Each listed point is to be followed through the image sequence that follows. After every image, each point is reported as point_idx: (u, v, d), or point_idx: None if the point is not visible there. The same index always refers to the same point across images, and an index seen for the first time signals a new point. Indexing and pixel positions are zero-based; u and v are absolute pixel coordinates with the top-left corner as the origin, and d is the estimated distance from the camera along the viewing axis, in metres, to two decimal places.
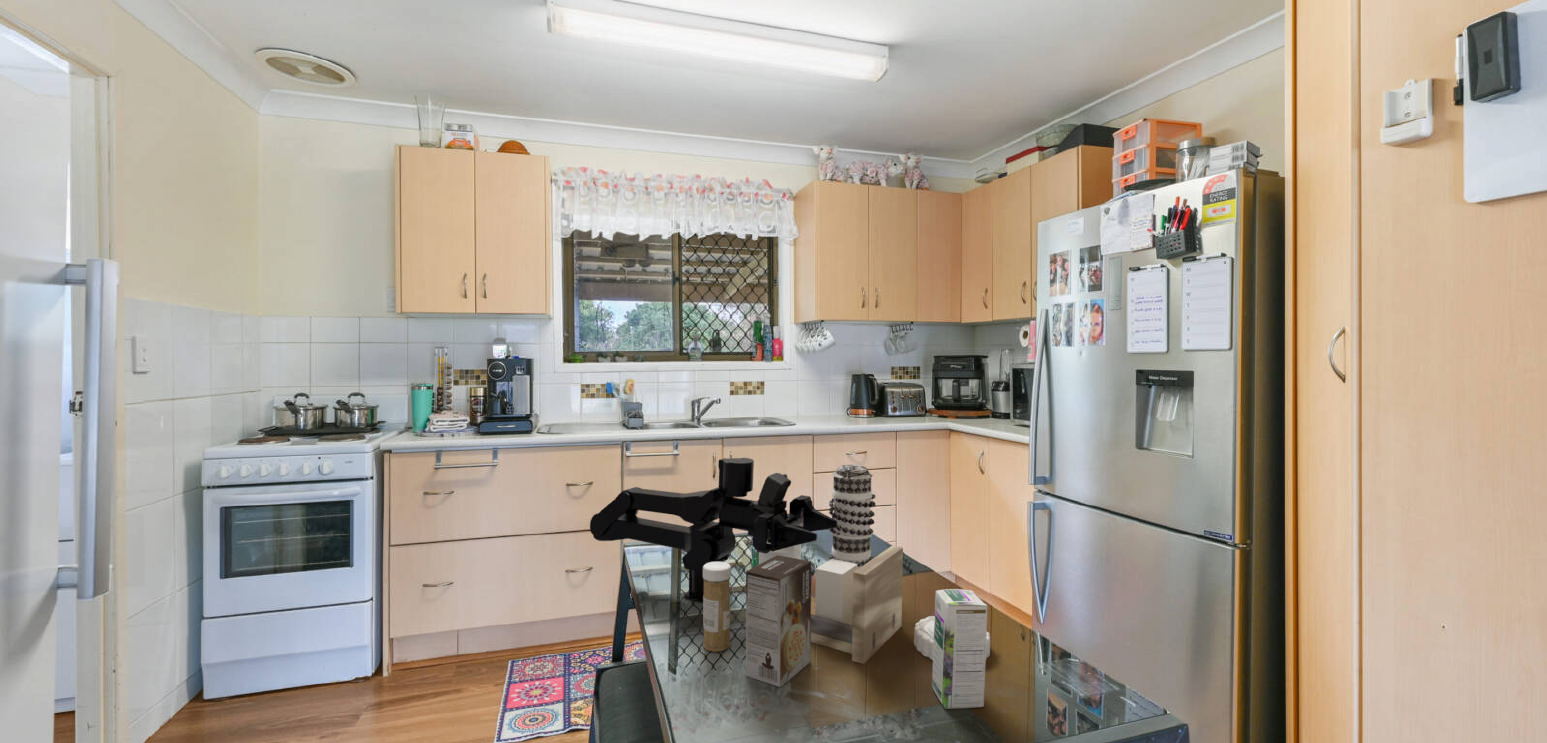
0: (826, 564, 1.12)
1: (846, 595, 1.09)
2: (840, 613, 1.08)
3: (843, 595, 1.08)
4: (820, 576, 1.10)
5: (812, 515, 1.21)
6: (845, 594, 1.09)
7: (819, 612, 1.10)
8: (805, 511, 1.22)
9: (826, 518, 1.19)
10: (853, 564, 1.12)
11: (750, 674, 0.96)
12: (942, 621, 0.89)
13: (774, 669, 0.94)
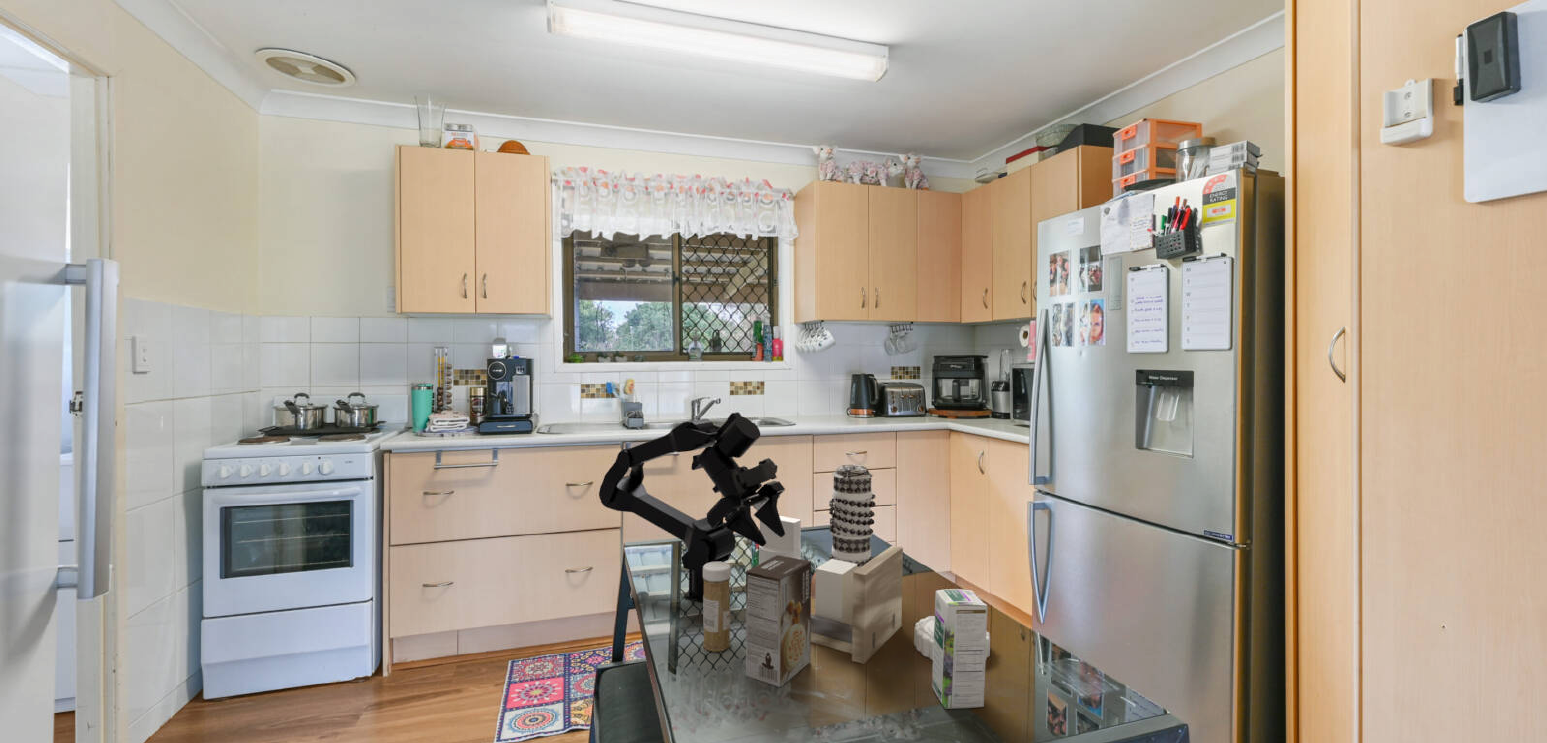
0: (826, 564, 1.12)
1: (846, 595, 1.09)
2: (840, 613, 1.08)
3: (843, 595, 1.08)
4: (820, 576, 1.10)
5: (770, 512, 1.22)
6: (845, 594, 1.09)
7: (819, 612, 1.10)
8: (767, 503, 1.23)
9: (779, 525, 1.21)
10: (853, 564, 1.12)
11: (750, 674, 0.96)
12: (942, 621, 0.89)
13: (774, 669, 0.94)
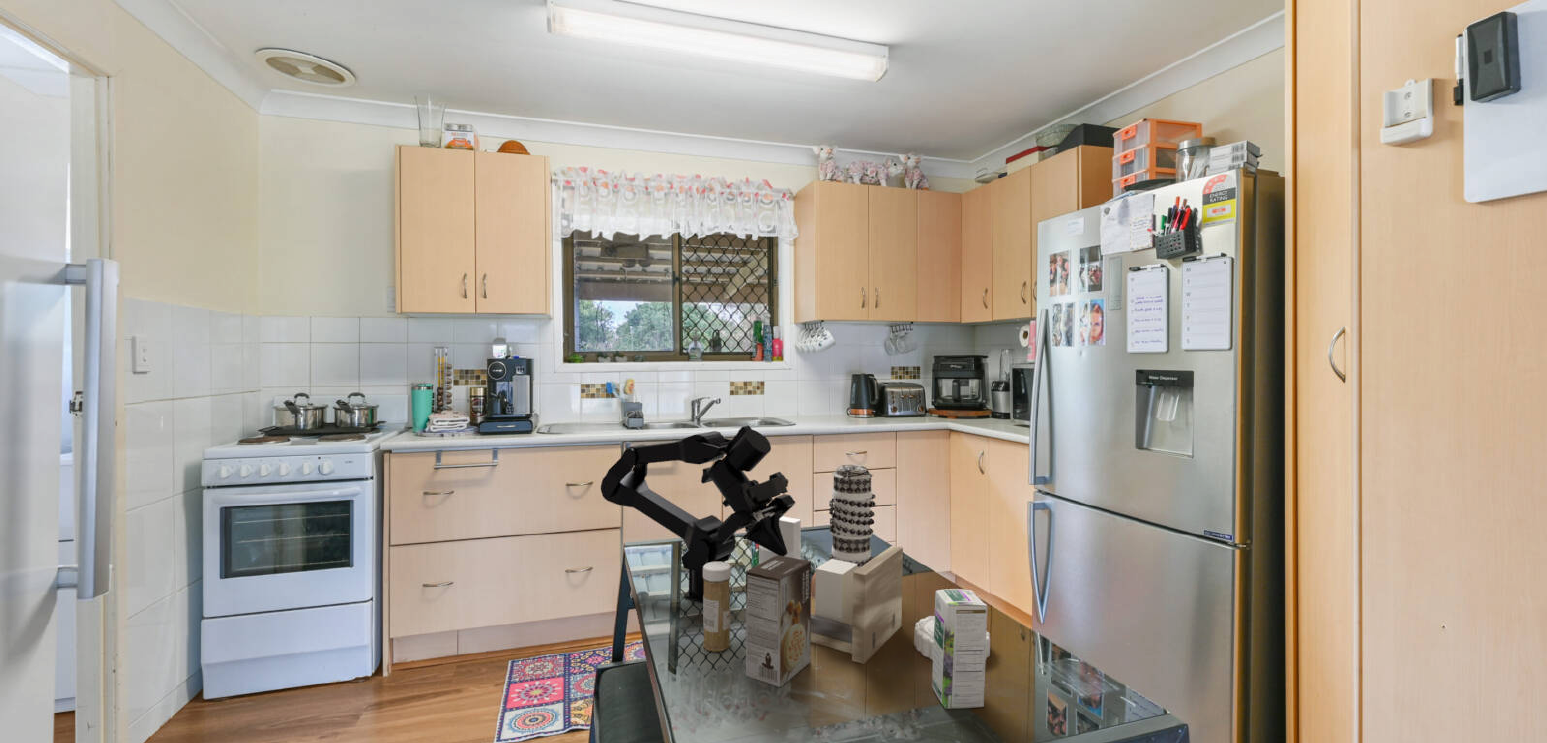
0: (826, 564, 1.12)
1: (846, 595, 1.09)
2: (840, 613, 1.08)
3: (843, 595, 1.08)
4: (820, 576, 1.10)
5: (772, 530, 1.19)
6: (845, 594, 1.09)
7: (819, 612, 1.10)
8: None
9: (781, 543, 1.17)
10: (853, 564, 1.12)
11: (750, 674, 0.96)
12: (942, 621, 0.89)
13: (774, 669, 0.94)
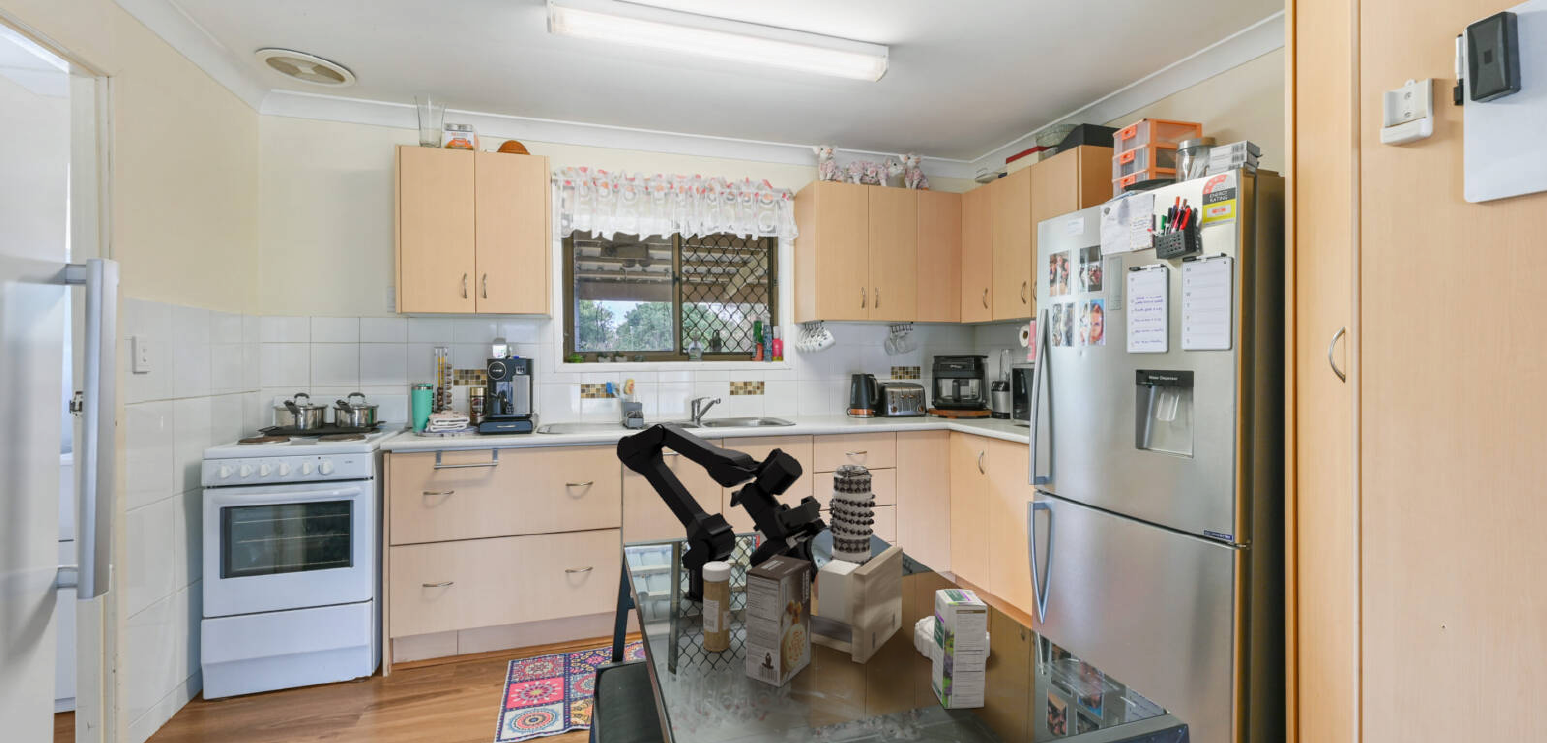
0: (829, 565, 1.12)
1: (849, 596, 1.09)
2: (842, 614, 1.08)
3: (846, 596, 1.08)
4: (823, 577, 1.09)
5: (805, 556, 1.15)
6: (848, 594, 1.08)
7: (822, 613, 1.10)
8: None
9: (814, 570, 1.14)
10: (856, 565, 1.12)
11: (750, 674, 0.96)
12: (942, 621, 0.89)
13: (774, 669, 0.94)
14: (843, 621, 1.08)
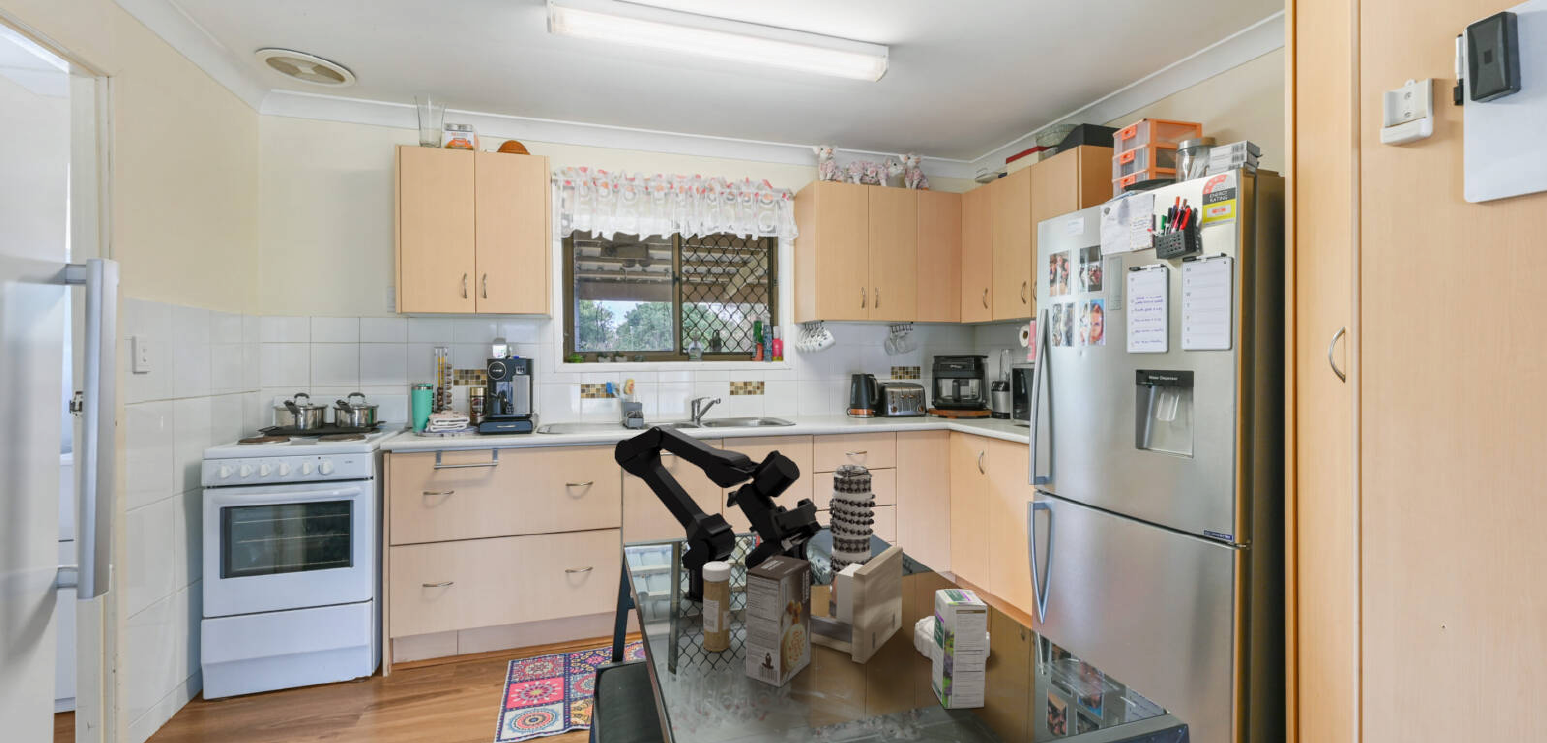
0: (847, 569, 1.10)
1: None
2: None
3: None
4: (842, 581, 1.07)
5: (800, 558, 1.16)
6: None
7: (840, 618, 1.08)
8: None
9: None
10: None
11: (750, 674, 0.96)
12: (942, 621, 0.89)
13: (774, 669, 0.94)
14: None
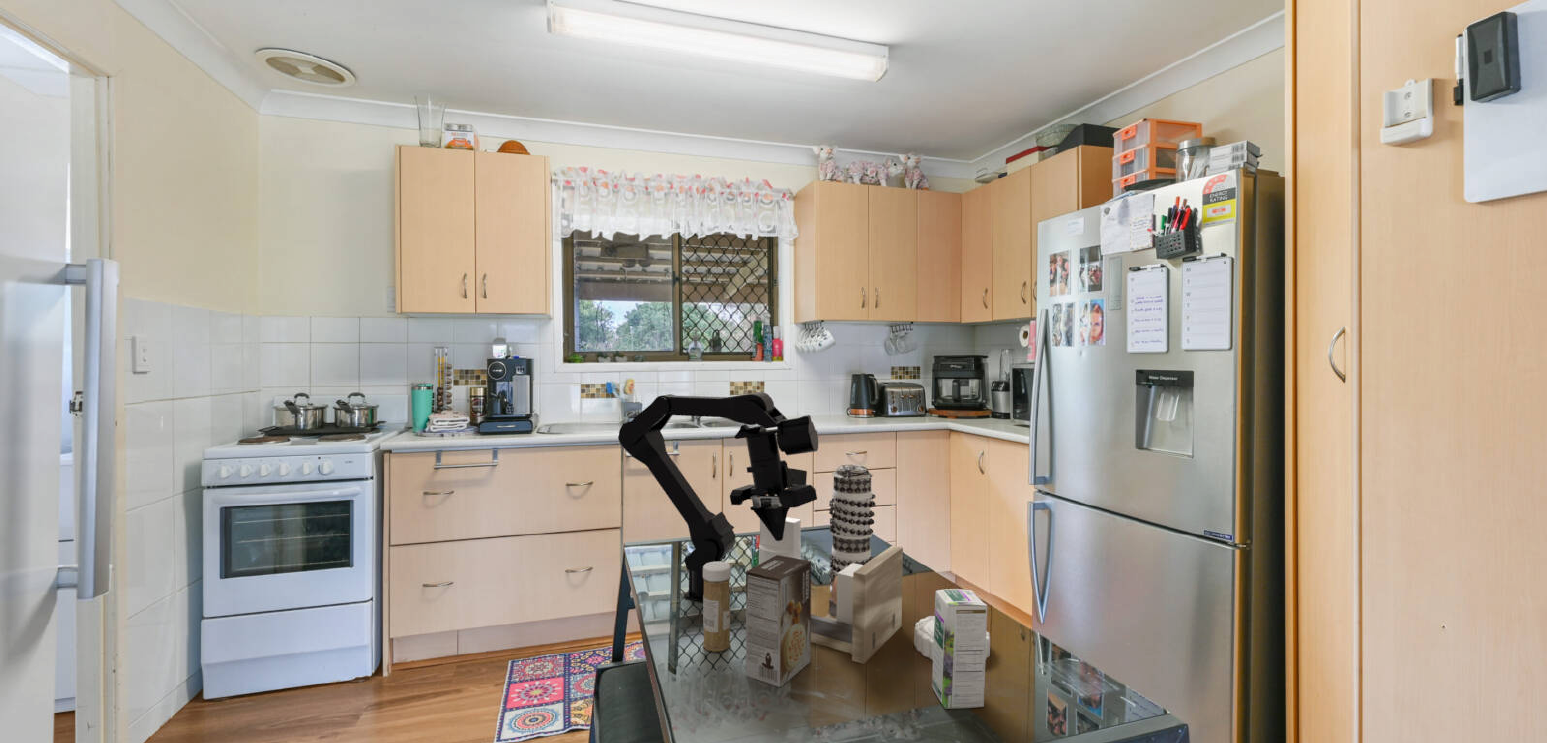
0: (847, 569, 1.10)
1: None
2: None
3: None
4: (842, 581, 1.07)
5: None
6: None
7: (840, 618, 1.08)
8: None
9: None
10: None
11: (750, 674, 0.96)
12: (942, 621, 0.89)
13: (774, 669, 0.94)
14: None
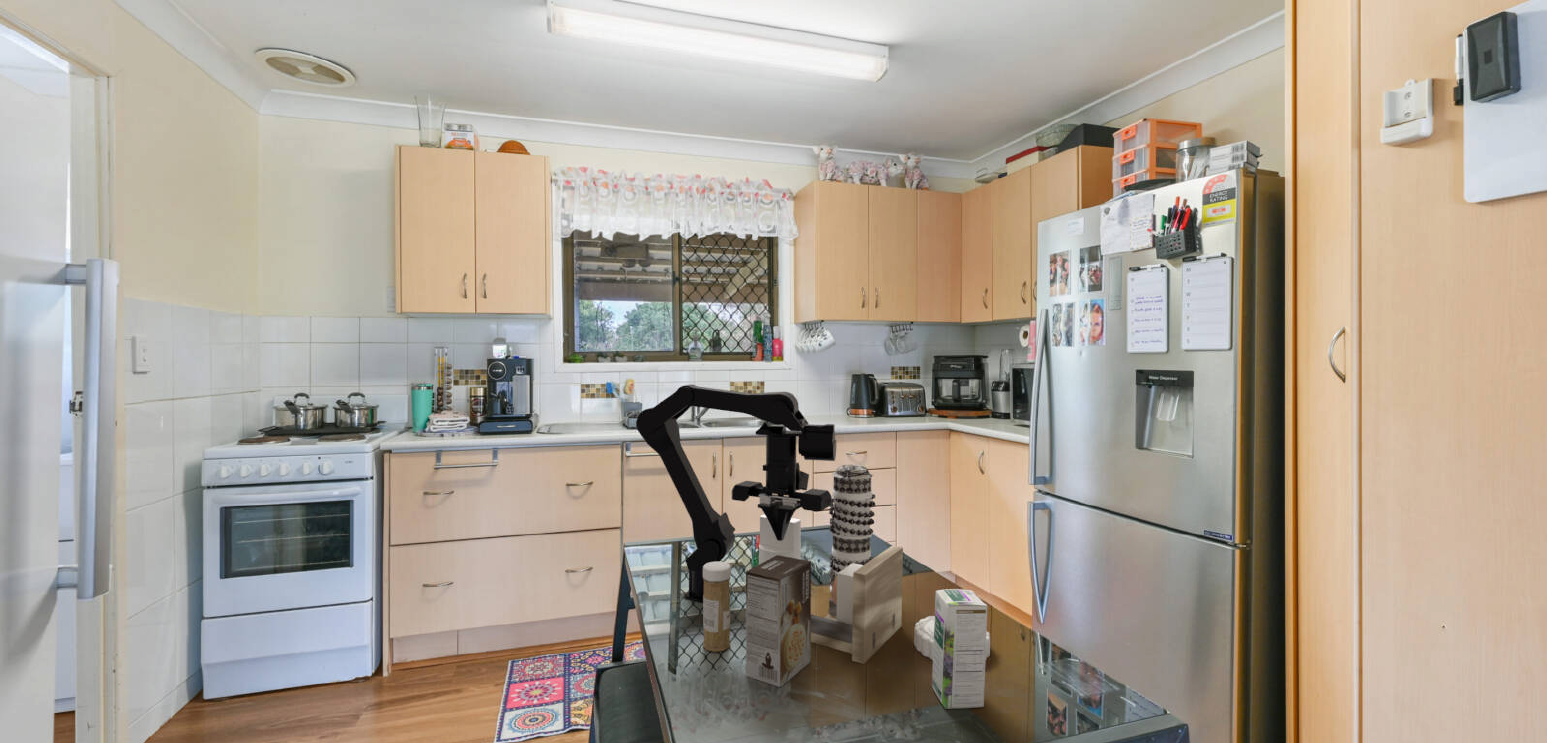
0: (847, 569, 1.10)
1: None
2: None
3: None
4: (842, 581, 1.07)
5: None
6: None
7: (840, 618, 1.08)
8: (780, 504, 1.24)
9: None
10: None
11: (750, 674, 0.96)
12: (942, 621, 0.89)
13: (774, 669, 0.94)
14: None
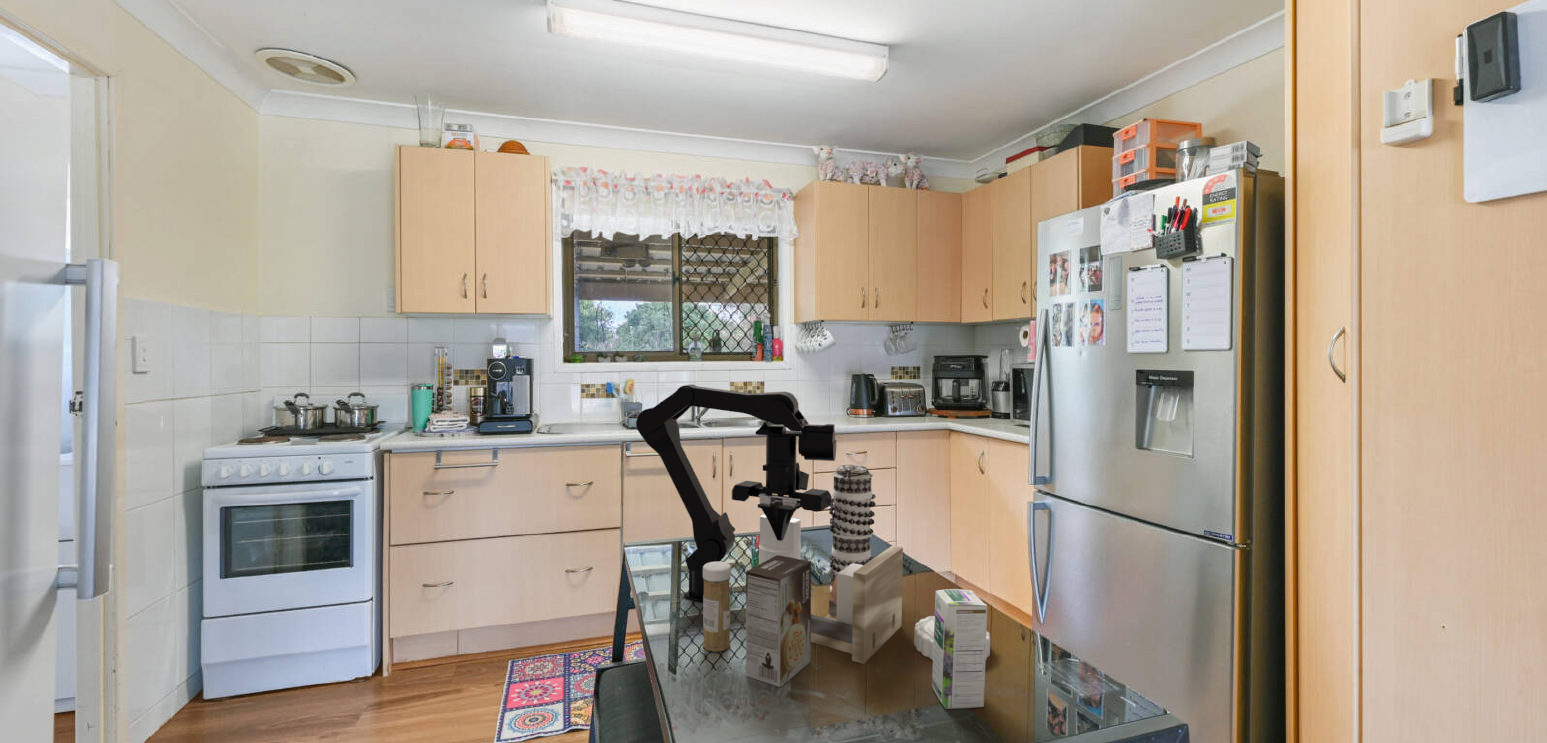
0: (847, 569, 1.10)
1: None
2: None
3: None
4: (842, 581, 1.07)
5: None
6: None
7: (840, 618, 1.08)
8: (780, 504, 1.24)
9: None
10: None
11: (750, 674, 0.96)
12: (942, 621, 0.89)
13: (774, 669, 0.94)
14: None
